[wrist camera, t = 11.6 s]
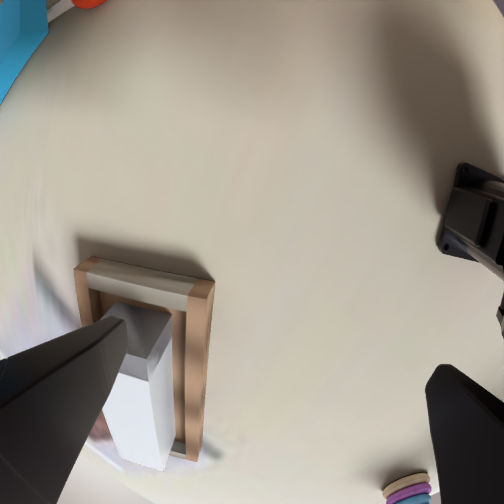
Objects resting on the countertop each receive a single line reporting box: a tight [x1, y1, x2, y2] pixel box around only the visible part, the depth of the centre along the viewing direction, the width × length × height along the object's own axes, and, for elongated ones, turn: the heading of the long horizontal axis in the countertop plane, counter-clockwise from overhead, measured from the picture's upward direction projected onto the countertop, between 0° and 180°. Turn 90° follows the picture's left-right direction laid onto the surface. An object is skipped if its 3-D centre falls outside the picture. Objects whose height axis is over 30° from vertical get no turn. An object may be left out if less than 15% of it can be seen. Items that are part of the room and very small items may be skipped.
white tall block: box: [100, 301, 176, 471], centre depth 21 cm, size 16×4×5 cm, turn 171°
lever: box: [0, 0, 106, 104], centre depth 13 cm, size 7×7×18 cm
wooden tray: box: [74, 256, 215, 462], centre depth 23 cm, size 21×10×2 cm, turn 171°
